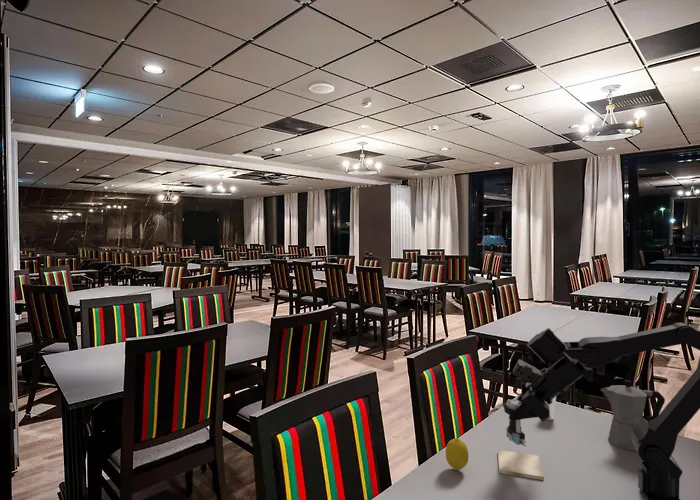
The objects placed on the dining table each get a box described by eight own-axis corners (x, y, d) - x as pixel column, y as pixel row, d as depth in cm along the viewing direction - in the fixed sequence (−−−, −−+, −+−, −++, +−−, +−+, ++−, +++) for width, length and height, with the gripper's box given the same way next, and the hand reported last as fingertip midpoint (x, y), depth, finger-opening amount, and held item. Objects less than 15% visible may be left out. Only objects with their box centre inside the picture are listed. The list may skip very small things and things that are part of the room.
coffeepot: (605, 447, 113) (606, 383, 112) (595, 432, 122) (596, 372, 121) (671, 456, 108) (672, 389, 108) (656, 440, 117) (657, 378, 117)
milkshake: (535, 416, 132) (535, 386, 132) (547, 413, 135) (547, 383, 134) (547, 422, 128) (548, 391, 128) (559, 419, 131) (559, 388, 130)
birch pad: (538, 458, 107) (538, 455, 107) (543, 480, 97) (543, 476, 97) (497, 452, 110) (497, 449, 110) (499, 472, 100) (499, 469, 100)
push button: (534, 446, 101) (533, 407, 100) (515, 450, 100) (514, 410, 99) (517, 433, 107) (516, 396, 107) (499, 436, 106) (498, 399, 106)
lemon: (452, 477, 98) (452, 445, 98) (441, 465, 103) (441, 434, 103) (472, 474, 100) (473, 442, 99) (460, 462, 105) (461, 431, 105)
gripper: (533, 343, 110) (490, 378, 115) (533, 361, 93) (483, 402, 98) (565, 375, 107) (520, 410, 112) (572, 400, 90) (518, 441, 95)
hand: (510, 414), depth 104 cm, fingers closed on push button, 5 cm apart
